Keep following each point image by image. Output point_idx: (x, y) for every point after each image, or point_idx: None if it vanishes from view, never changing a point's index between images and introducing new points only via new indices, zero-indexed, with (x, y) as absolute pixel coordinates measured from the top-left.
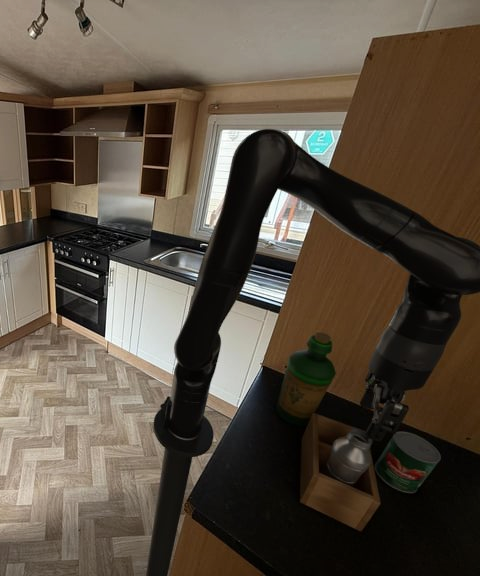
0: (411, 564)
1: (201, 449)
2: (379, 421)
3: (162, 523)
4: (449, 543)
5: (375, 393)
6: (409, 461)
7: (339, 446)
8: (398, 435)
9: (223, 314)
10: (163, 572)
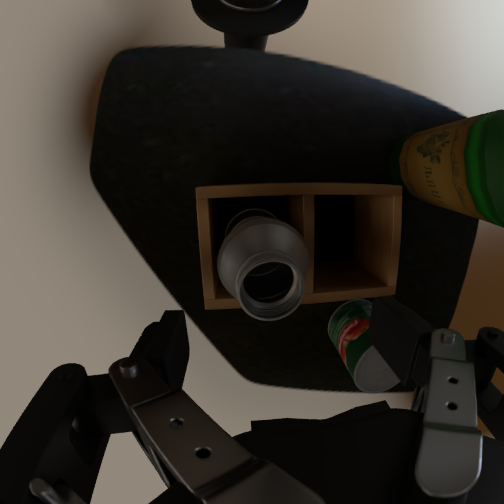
0: (205, 329)
1: (217, 22)
2: (44, 394)
3: None
4: (270, 369)
5: (223, 478)
6: (353, 355)
7: (248, 232)
8: None
9: None
10: None
